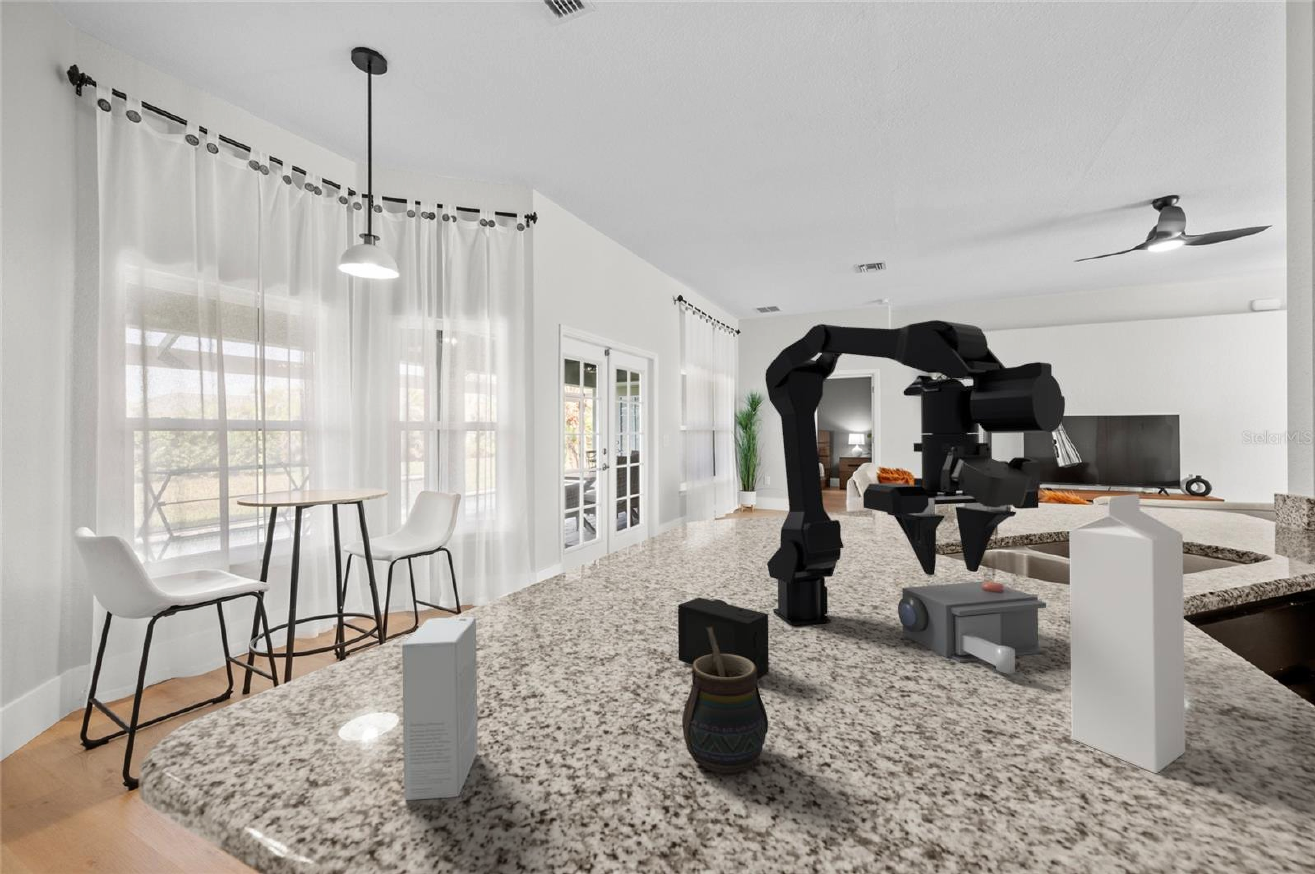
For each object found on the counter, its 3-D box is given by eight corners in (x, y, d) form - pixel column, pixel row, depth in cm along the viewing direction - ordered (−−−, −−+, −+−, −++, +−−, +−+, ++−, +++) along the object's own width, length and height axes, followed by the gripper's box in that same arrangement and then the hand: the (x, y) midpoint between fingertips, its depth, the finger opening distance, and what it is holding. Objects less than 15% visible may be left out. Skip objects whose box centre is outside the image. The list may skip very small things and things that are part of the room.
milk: (1185, 754, 46) (1185, 497, 46) (1156, 775, 43) (1156, 501, 43) (1100, 721, 52) (1100, 490, 52) (1068, 738, 49) (1068, 494, 49)
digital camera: (775, 670, 64) (774, 610, 64) (750, 686, 60) (749, 622, 60) (705, 647, 71) (704, 594, 71) (678, 660, 67) (677, 604, 67)
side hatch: (1005, 677, 60) (1004, 635, 60) (955, 653, 66) (955, 615, 67) (1048, 671, 61) (1048, 631, 61) (996, 648, 68) (995, 611, 68)
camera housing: (945, 664, 65) (944, 603, 65) (892, 636, 74) (892, 582, 74) (1049, 651, 68) (1049, 594, 68) (987, 626, 78) (986, 575, 78)
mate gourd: (707, 795, 41) (706, 665, 41) (666, 744, 48) (665, 632, 48) (785, 772, 44) (783, 649, 44) (735, 727, 51) (734, 621, 51)
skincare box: (428, 756, 47) (427, 617, 47) (478, 753, 47) (478, 615, 47) (400, 803, 41) (400, 643, 41) (459, 799, 41) (458, 641, 41)
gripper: (930, 433, 51) (932, 599, 51) (1086, 432, 55) (1088, 585, 55) (859, 434, 62) (861, 571, 61) (994, 434, 66) (996, 562, 66)
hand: (950, 572), depth 61 cm, fingers open, 5 cm apart
